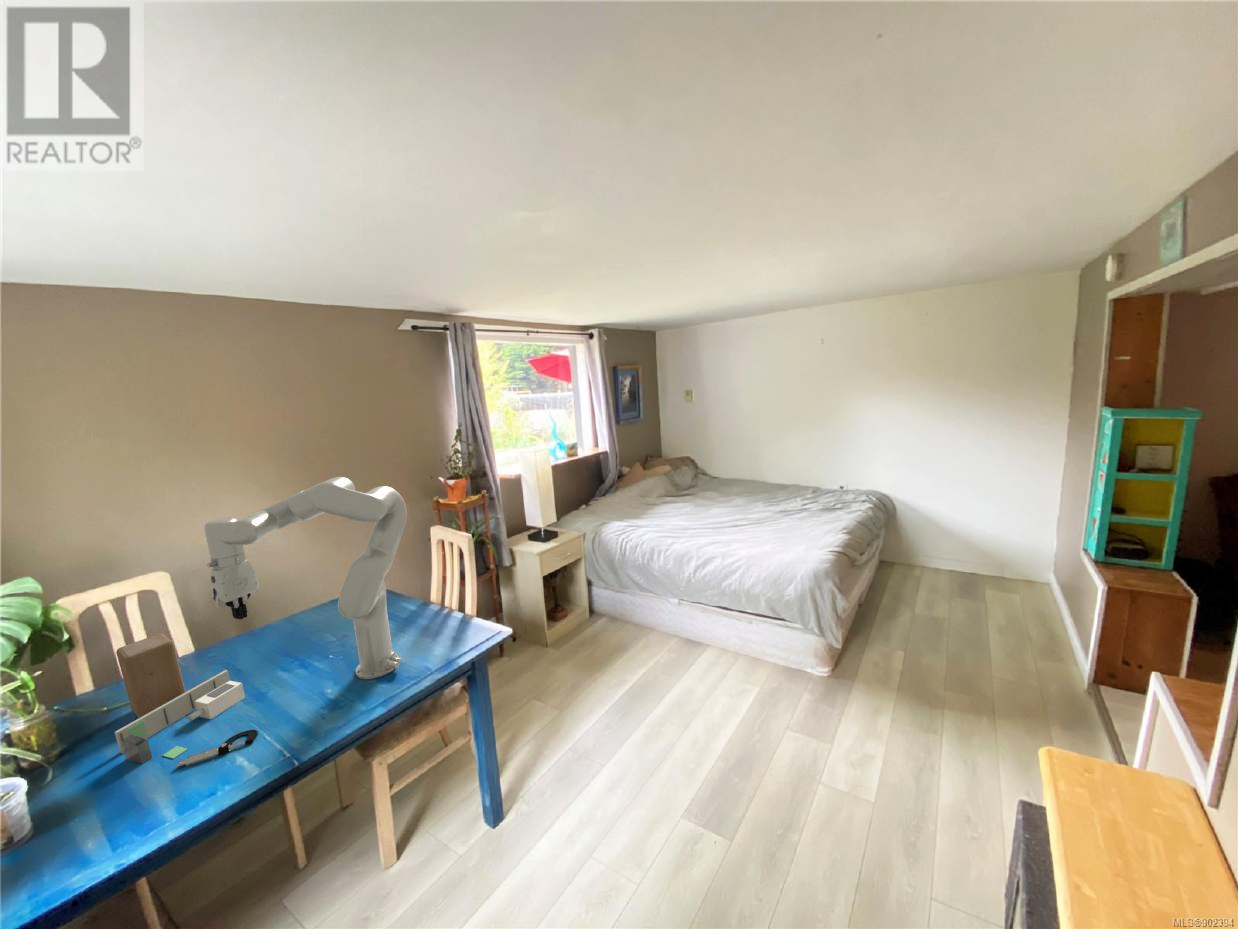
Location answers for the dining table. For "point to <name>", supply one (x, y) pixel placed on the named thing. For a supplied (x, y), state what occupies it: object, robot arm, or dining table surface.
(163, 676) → the wooden block
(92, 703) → the dining table surface
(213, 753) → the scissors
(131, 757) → the grey faceted block
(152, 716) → the scale board
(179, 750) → the green flat block
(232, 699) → the white slotted box
